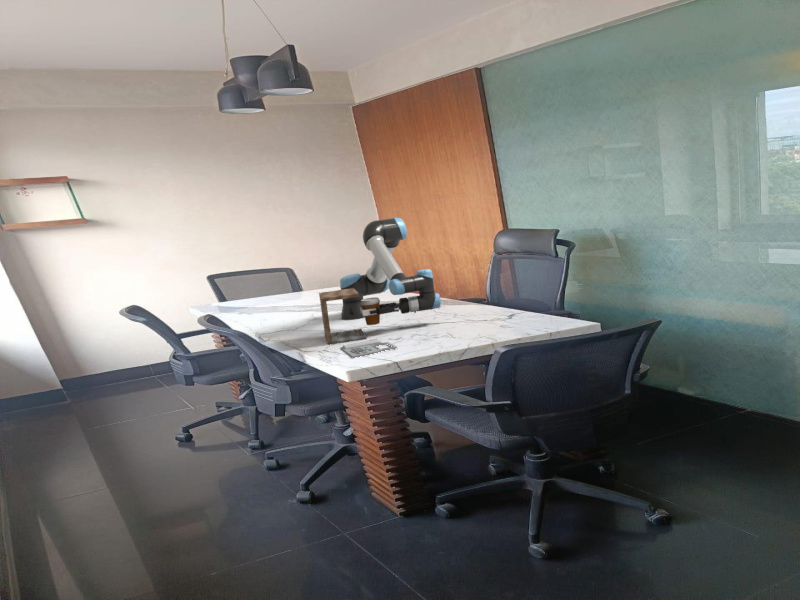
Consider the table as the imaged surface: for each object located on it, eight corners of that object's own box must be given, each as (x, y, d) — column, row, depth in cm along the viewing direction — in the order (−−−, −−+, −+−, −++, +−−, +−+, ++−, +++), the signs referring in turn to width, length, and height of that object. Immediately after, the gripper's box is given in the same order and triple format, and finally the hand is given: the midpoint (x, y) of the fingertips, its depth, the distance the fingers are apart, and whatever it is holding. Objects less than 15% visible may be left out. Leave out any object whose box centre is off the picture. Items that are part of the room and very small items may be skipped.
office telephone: (339, 344, 299) (381, 336, 305) (339, 350, 299) (382, 341, 305) (352, 353, 277) (398, 344, 283) (353, 359, 277) (399, 350, 283)
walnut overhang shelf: (361, 330, 333) (355, 287, 330) (366, 339, 312) (360, 293, 308) (325, 336, 331) (319, 292, 327) (327, 345, 309) (321, 298, 306)
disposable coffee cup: (367, 326, 316) (364, 301, 314) (360, 324, 325) (357, 300, 323) (386, 323, 320) (382, 298, 318) (378, 320, 329) (375, 296, 327)
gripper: (413, 315, 314) (365, 323, 311) (405, 309, 335) (360, 316, 332) (411, 299, 313) (363, 307, 310) (403, 294, 334) (358, 301, 330)
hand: (361, 311), depth 321 cm, fingers closed on disposable coffee cup, 8 cm apart
